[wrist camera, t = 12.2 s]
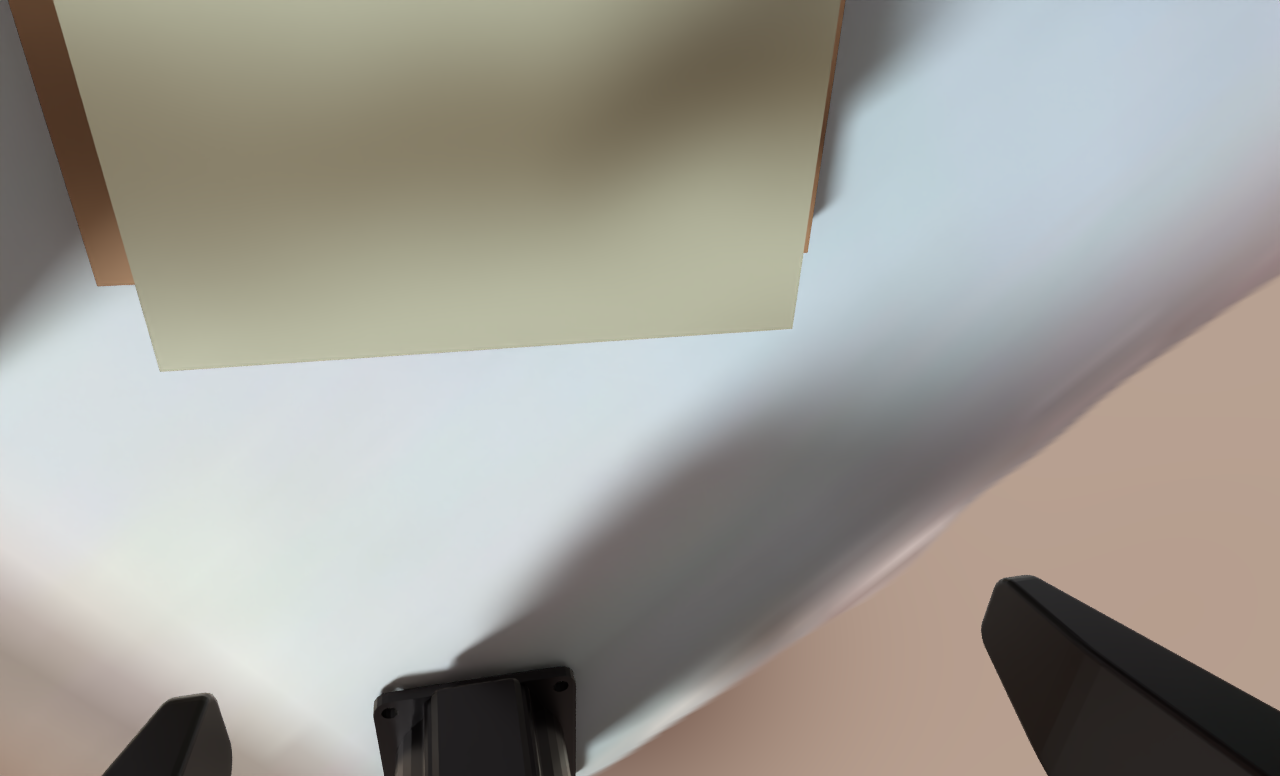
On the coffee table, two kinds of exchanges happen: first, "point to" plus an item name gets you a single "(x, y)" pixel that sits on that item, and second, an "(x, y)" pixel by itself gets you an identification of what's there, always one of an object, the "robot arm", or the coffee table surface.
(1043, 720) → the robot arm
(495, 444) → the coffee table surface
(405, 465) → the coffee table surface
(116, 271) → the port plate
